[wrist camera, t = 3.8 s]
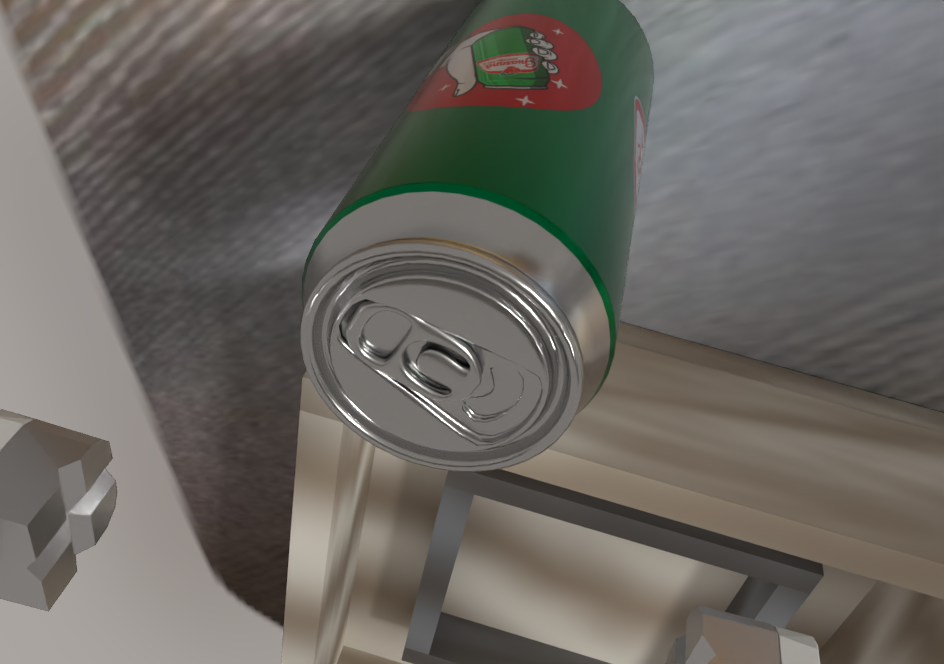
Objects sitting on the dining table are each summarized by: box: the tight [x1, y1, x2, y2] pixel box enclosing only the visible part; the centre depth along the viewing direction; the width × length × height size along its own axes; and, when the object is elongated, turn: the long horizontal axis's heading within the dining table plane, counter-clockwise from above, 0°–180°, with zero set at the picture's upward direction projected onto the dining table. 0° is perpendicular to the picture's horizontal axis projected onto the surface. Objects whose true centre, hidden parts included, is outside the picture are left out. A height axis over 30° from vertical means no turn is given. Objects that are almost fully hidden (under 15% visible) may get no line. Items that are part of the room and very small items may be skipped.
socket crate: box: [281, 322, 944, 664], centre depth 31 cm, size 22×20×6 cm
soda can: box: [300, 0, 654, 472], centre depth 17 cm, size 5×5×12 cm
